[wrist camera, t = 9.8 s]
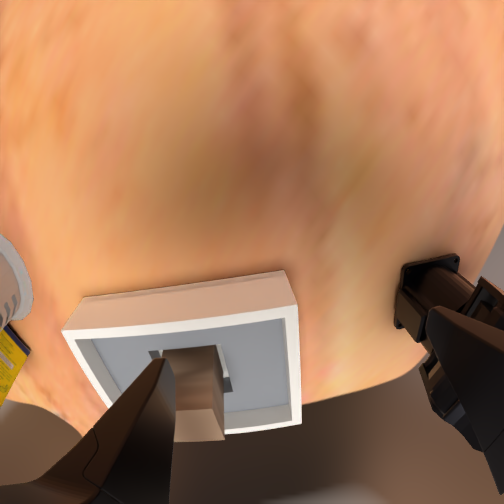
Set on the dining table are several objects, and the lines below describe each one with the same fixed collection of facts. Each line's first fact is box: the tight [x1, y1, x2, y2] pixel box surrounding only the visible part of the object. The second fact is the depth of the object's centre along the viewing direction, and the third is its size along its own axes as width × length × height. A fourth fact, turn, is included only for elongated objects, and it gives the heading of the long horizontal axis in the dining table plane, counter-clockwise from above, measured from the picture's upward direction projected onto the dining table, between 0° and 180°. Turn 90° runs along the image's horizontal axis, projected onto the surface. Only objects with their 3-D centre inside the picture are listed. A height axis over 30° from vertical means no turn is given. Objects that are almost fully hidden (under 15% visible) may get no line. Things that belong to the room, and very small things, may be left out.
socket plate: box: [91, 318, 289, 413], centre depth 22 cm, size 14×11×2 cm
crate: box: [61, 270, 302, 434], centre depth 22 cm, size 16×13×4 cm
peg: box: [161, 345, 225, 442], centre depth 20 cm, size 4×4×7 cm
